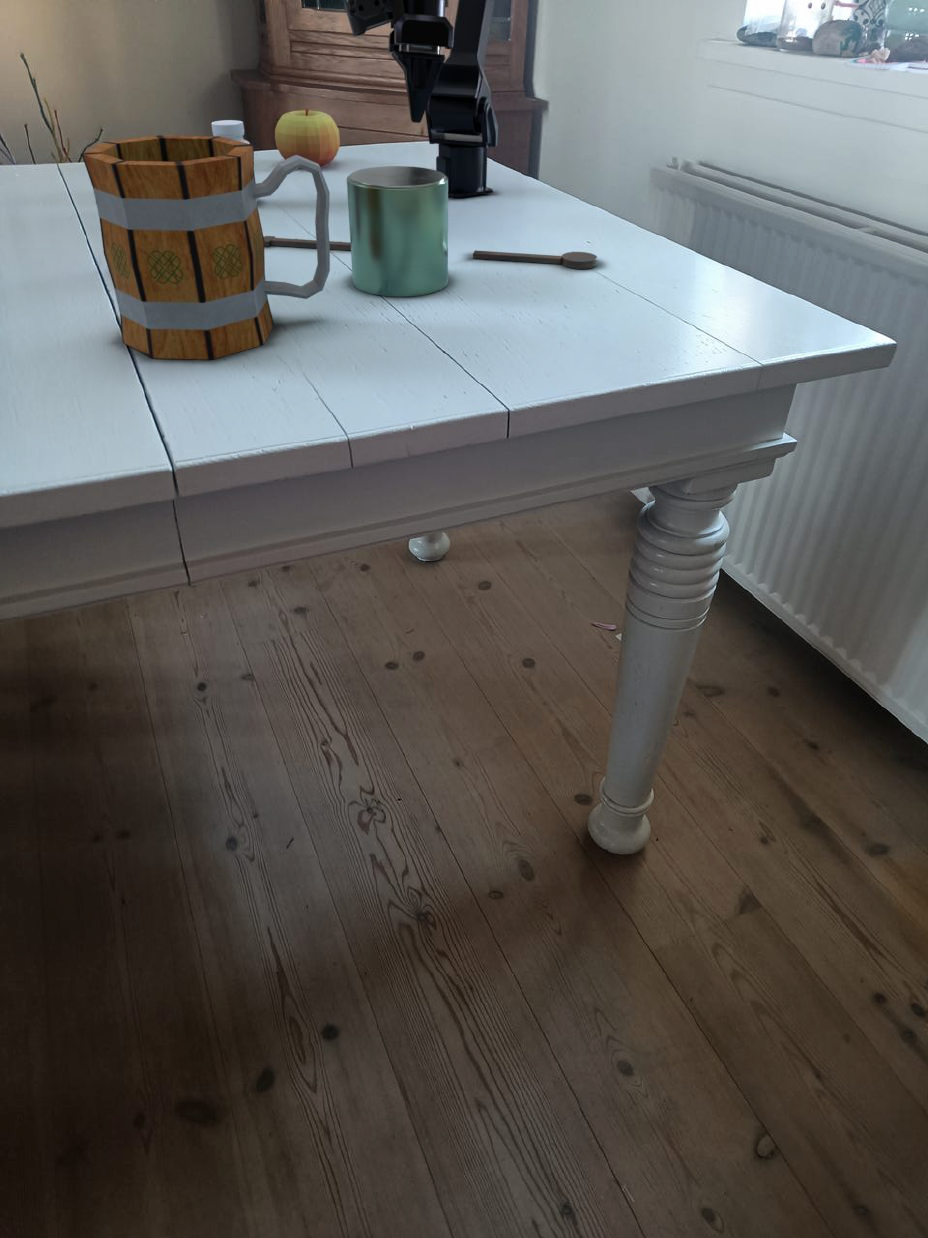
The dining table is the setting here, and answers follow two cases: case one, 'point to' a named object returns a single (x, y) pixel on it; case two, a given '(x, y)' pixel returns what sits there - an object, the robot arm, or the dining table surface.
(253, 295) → the mug
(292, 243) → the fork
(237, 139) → the pill bottle
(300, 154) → the apple
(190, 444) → the dining table surface
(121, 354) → the dining table surface
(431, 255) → the can
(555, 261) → the spoon
